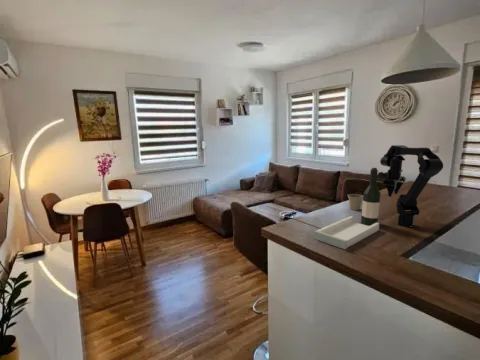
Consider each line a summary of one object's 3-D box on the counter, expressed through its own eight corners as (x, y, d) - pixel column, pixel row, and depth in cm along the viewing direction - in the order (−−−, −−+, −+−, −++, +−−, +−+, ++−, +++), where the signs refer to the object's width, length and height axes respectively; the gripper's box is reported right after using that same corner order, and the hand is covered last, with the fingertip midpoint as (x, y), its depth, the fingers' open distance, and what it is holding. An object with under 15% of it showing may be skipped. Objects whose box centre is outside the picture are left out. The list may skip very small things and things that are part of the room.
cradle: (378, 230, 134) (379, 223, 133) (344, 249, 113) (345, 241, 112) (349, 222, 145) (350, 216, 145) (314, 238, 124) (314, 231, 123)
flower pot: (348, 206, 176) (349, 193, 175) (363, 208, 172) (364, 195, 170) (345, 209, 169) (346, 196, 167) (361, 212, 164) (362, 198, 162)
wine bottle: (380, 226, 139) (385, 169, 133) (362, 225, 141) (367, 169, 135) (375, 221, 147) (380, 167, 142) (359, 220, 149) (363, 166, 143)
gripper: (386, 165, 161) (383, 190, 164) (373, 168, 148) (371, 195, 151) (407, 167, 153) (404, 193, 155) (395, 170, 140) (392, 199, 143)
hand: (392, 195), depth 152 cm, fingers open, 9 cm apart
